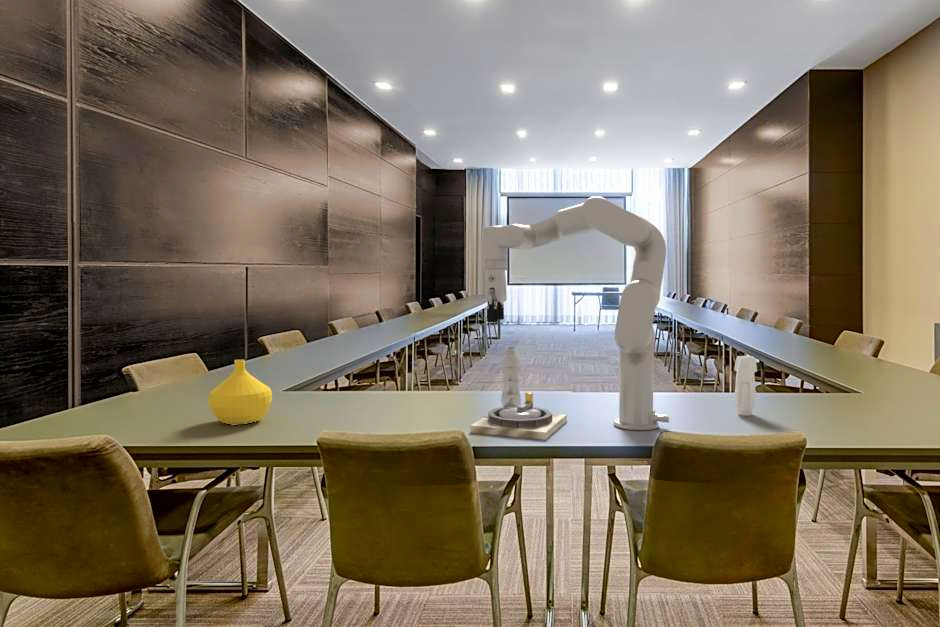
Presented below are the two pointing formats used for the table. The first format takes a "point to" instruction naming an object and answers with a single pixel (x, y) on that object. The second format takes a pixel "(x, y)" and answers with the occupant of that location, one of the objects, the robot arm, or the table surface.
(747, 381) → the flashlight
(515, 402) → the plastic bottle
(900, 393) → the table surface
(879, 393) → the table surface
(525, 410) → the dial
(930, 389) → the table surface
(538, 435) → the dial plate
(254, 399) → the vase
